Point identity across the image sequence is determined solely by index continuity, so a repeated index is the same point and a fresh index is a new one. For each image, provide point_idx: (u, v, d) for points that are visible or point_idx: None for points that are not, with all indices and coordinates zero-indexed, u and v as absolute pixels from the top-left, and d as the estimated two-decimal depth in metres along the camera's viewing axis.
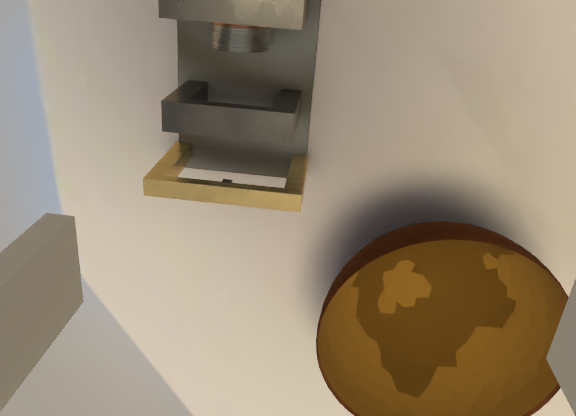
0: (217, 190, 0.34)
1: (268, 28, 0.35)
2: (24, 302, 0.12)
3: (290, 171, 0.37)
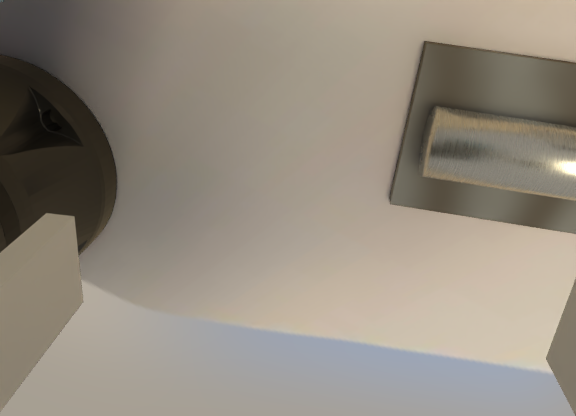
0: None
1: None
2: (24, 303, 0.12)
3: None
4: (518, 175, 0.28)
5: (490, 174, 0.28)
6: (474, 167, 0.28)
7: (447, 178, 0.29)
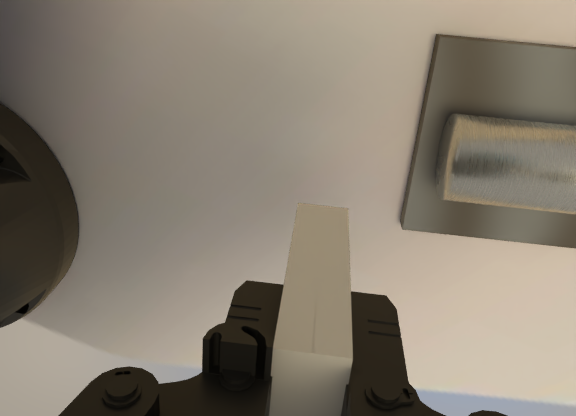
0: None
1: None
2: None
3: None
4: (562, 195, 0.23)
5: (527, 195, 0.23)
6: (507, 188, 0.23)
7: (473, 201, 0.24)
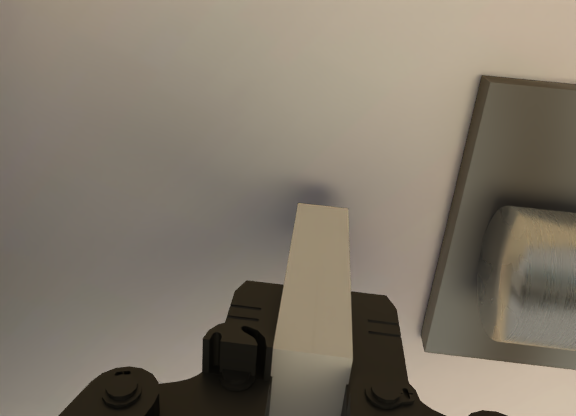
0: None
1: None
2: None
3: None
4: None
5: None
6: None
7: (541, 346, 0.15)
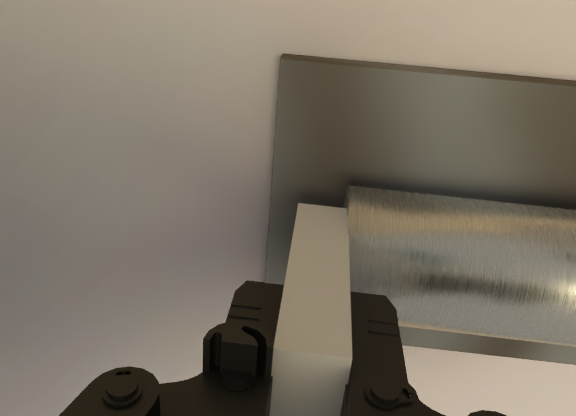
0: None
1: None
2: None
3: None
4: (510, 326, 0.14)
5: (456, 324, 0.15)
6: (424, 315, 0.14)
7: None
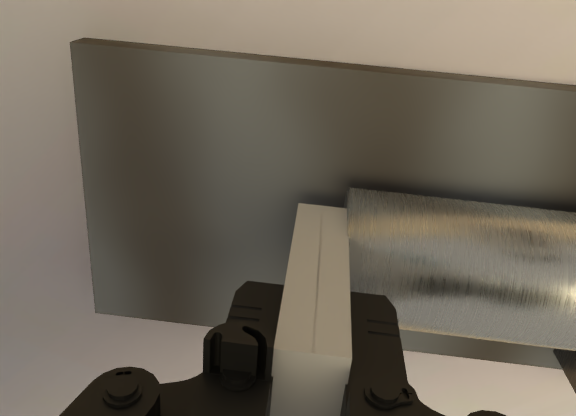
0: None
1: None
2: None
3: None
4: (511, 330, 0.14)
5: (456, 328, 0.14)
6: (424, 318, 0.14)
7: None
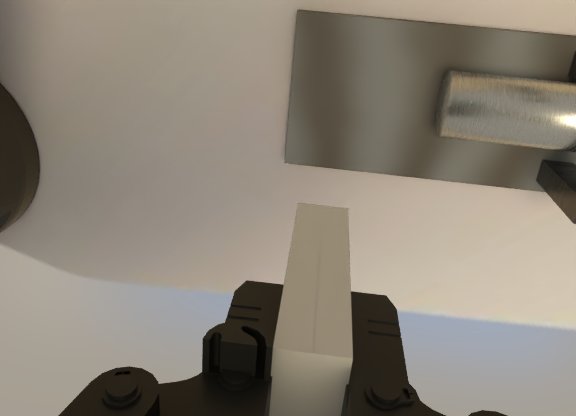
0: None
1: None
2: None
3: None
4: (532, 121, 0.30)
5: (506, 122, 0.30)
6: (490, 116, 0.30)
7: (465, 132, 0.31)
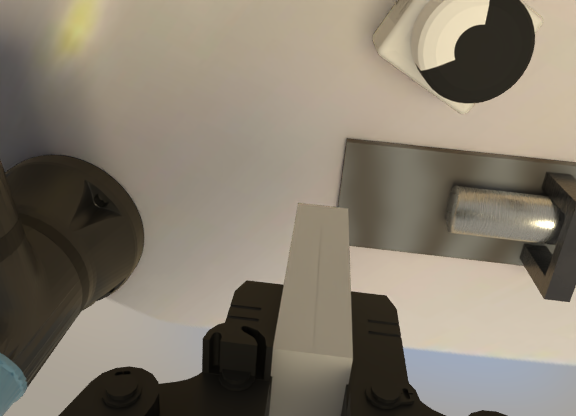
0: None
1: None
2: None
3: None
4: (515, 226, 0.43)
5: (497, 226, 0.43)
6: (486, 222, 0.43)
7: (468, 231, 0.44)
